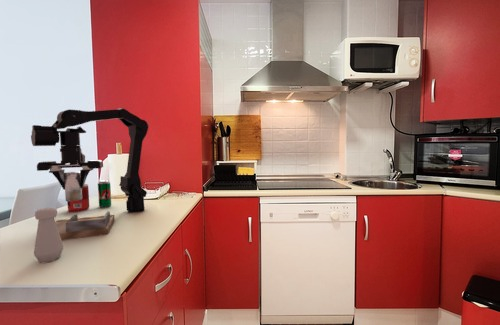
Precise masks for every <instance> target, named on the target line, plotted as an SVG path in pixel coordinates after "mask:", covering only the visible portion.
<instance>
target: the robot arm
mask: <svg viewBox="0 0 500 325" xmlns="http://www.w3.org/2000/svg"><path fill="white" fill-rule="evenodd" d="M117 119H118V120H119V121H120V122H121V123H122V124H123V125H125V127H126V128H127V129H128V136H129V138H130V143H129V144H130V145H129V151H128V159H127V165H126V167H127V168H126V173H125V174H124V176H123V175H122V176H120V177H119V178H120V181H119V182H120V183H119V185H118V186H120V190H121V191H122V192H123V193H124V194H125V197H127V199H126V201H125V202H126V203H125V205H126V211H127V213H129V214H130V213H136V212H137V213H139V212H145V197H147V193H148V192H147V191H146V189H145V188H143V187H142V180H141V177H140V174H139V172H140V166H141V159H142V158H141V156H142V148H143V141H144V139H145V138H146V136H147V134H148V132H149V123H148V122H147V121H146V120H145V119H142V118H140V117H139V116H138V115H135V114H133V113H132V112H130V111H128V109H126V108H123V107H122V108H116V109H107V110H106V109H104V110H103V109H102V110H92V111H90V110H89V111H88V110H87V111H86V110H80V109H66V110H62V111H60V112H59V113H57V116H56V121H55V122H54V123H53V124H52V125H51V126H49V125H46V126H45V125H38V124H37V125H35V124H34V125H32V126H31V128H32V130H31V135H30V141H31V144H32V146H33V147H48V146H49V147H52V146H53V147H55V146H56V145H57V144H58V143H60V148H59V152H60V157H61V160H60V162H57V161H56V160H55V161H54V160H53V161H51V160H50V161H39V162H38V163H37V164H36V171H39V172H41V171H48V173H50V174H52V175H53V176H54V177H55V178H56V180H57V181H58V183H59V184H60V186H61V188H62V189H63V190H64V191H65V184H64V173H65V169H67V168H82V169H80V171H79V172H80V185H81V188H83V187H84V184H86V180H87V177H88V175H89V173H90V172H91V171H94V169H101V168H104V163H103V160H101V159H89V160H87V161H86V155H85V154H84V153H83V152H82V148H81V138H80V136H81V135H80V134H86V133H87V130H85V129H83V128H82V127H81V126H79V125H83V124H87V123H89V122H98V121H108V120H109V121H110V120H117ZM75 126H77V127H76V128H73V127H75ZM64 129H65V130H64Z"/></svg>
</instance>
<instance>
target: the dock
mask: <svg viewBox="0 0 500 325" xmlns="http://www.w3.org/2000/svg"><path fill="white" fill-rule="evenodd" d="M115 218H116V217H115V213H113V214H111V211H109V210H108V211H106V213H105V214H103V215H96V216H95V215H93V216H82V217H78V214H77V213H75V214H73V215H72V216H71V217H69V218H63V219H62V218H61V219H55V222H56V225H57V228H58V231H59V234H60V237H61V240H62V241H63V240H71V239H74V240H75V239H79V238H88V237H96V236H97V237H98V236H104V235H109V233H110V231H111V229H112V227H113V225H114V222H115Z"/></svg>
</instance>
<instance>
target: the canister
mask: <svg viewBox="0 0 500 325" xmlns="http://www.w3.org/2000/svg"><path fill="white" fill-rule="evenodd" d="M64 184H65V190H64V195H65V196H64V197H65V198H64V199H65V202H67V201H78V200H82V188H81V185H80V171H69V172H64Z"/></svg>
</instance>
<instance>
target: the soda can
mask: <svg viewBox="0 0 500 325" xmlns="http://www.w3.org/2000/svg"><path fill="white" fill-rule="evenodd" d="M97 192H98V194H97V196H98V206H99V207H100V208H108V207H111V206H112V190H111V182H110V179H109V180H107V179H106V180H99V181H98V183H97Z"/></svg>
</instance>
